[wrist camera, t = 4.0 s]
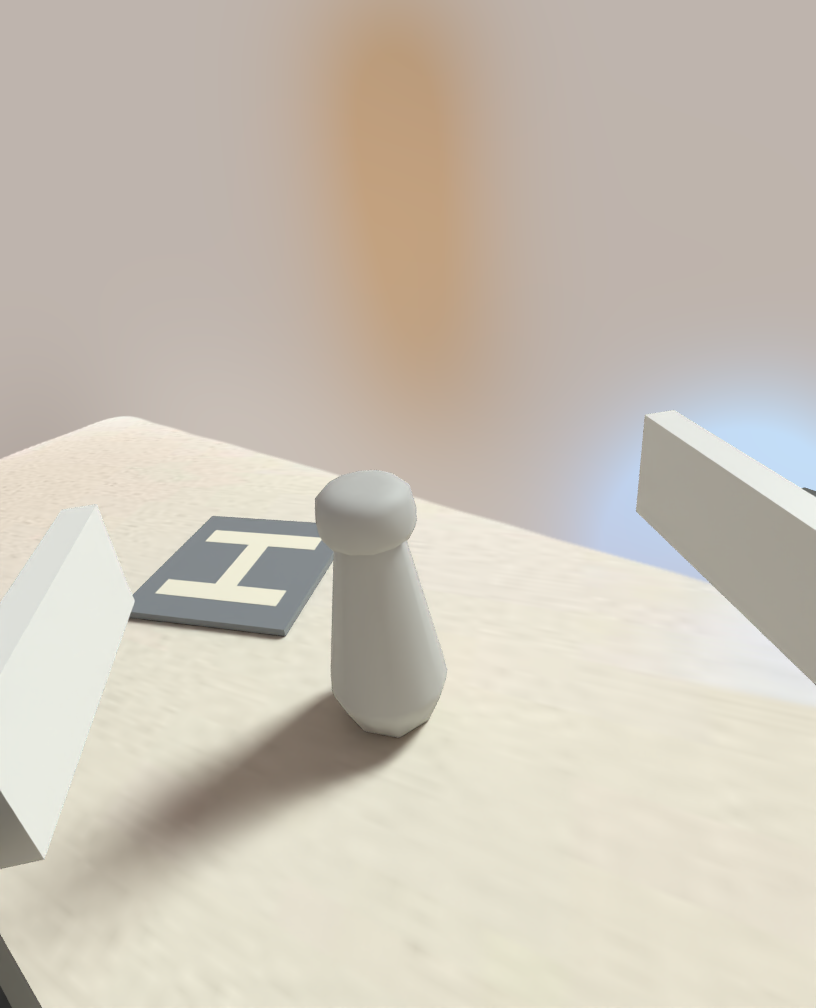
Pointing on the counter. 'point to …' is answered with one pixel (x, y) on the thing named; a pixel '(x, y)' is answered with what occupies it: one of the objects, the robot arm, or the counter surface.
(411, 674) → the salt shaker
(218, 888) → the counter surface
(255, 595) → the letter card
